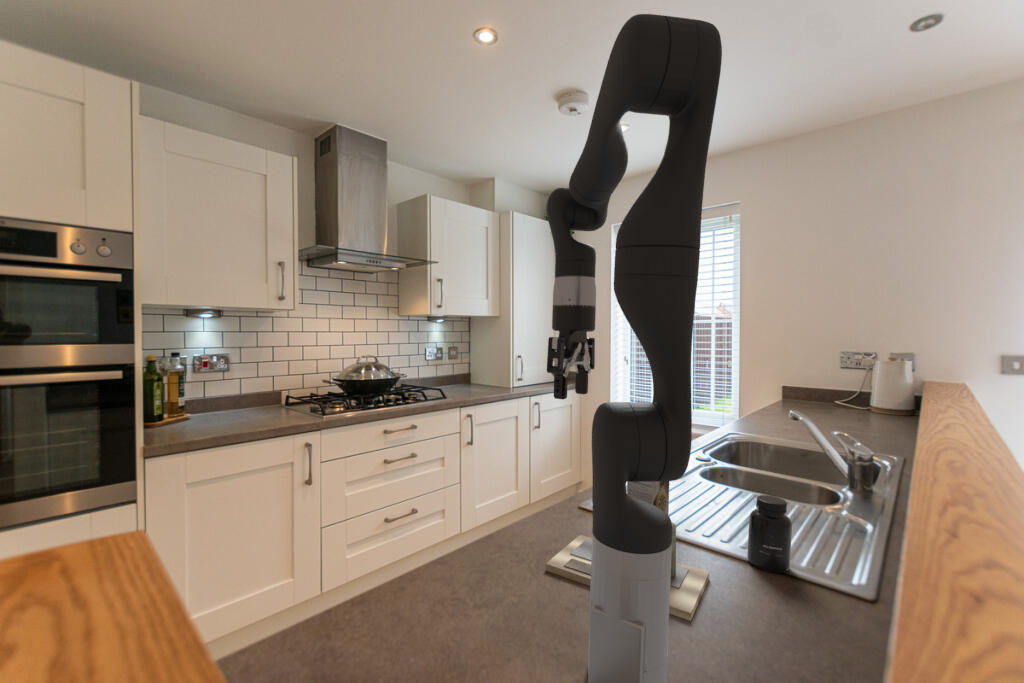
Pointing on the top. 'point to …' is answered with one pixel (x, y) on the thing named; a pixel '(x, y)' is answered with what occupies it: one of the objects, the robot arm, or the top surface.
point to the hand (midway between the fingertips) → (571, 396)
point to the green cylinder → (673, 551)
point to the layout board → (682, 586)
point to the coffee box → (651, 493)
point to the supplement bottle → (770, 535)
